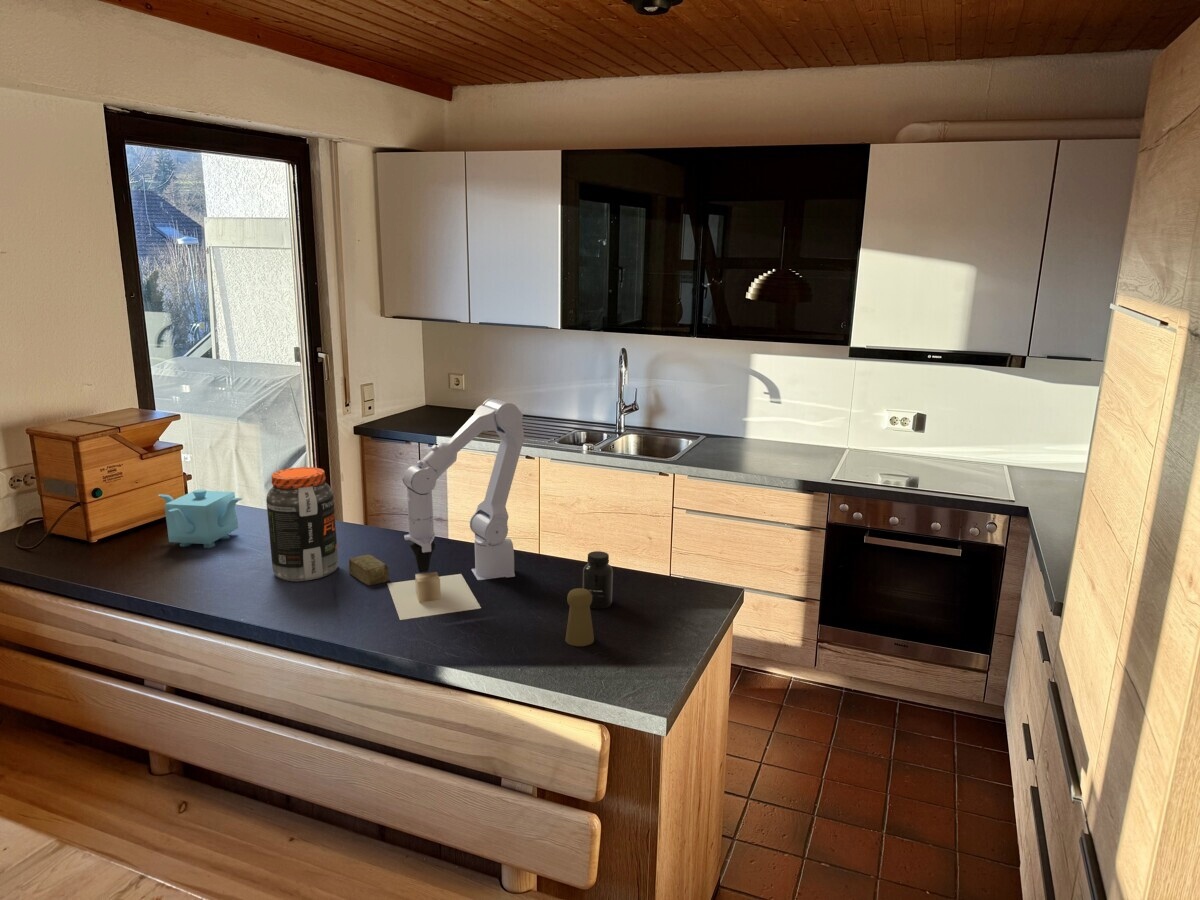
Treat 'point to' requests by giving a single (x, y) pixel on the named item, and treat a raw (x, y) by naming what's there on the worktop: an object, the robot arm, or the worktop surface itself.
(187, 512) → the teakettle
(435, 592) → the cube
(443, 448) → the robot arm
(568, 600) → the wooden peg doll
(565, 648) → the worktop surface
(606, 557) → the supplement bottle
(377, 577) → the stone block
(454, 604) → the mat
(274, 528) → the supplement tub
